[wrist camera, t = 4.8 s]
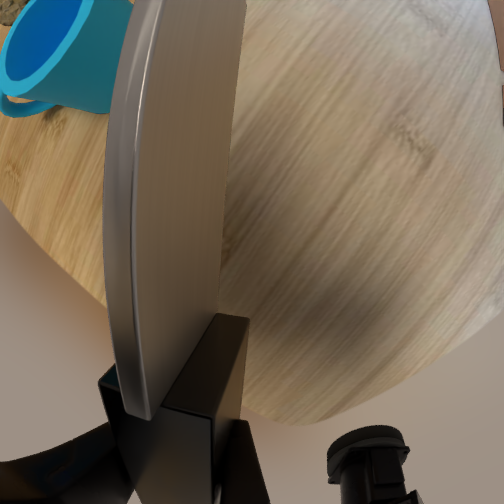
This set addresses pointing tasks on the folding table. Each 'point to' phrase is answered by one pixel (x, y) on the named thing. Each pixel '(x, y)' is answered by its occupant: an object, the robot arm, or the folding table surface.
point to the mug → (63, 55)
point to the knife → (172, 249)
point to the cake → (498, 26)
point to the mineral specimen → (11, 10)
